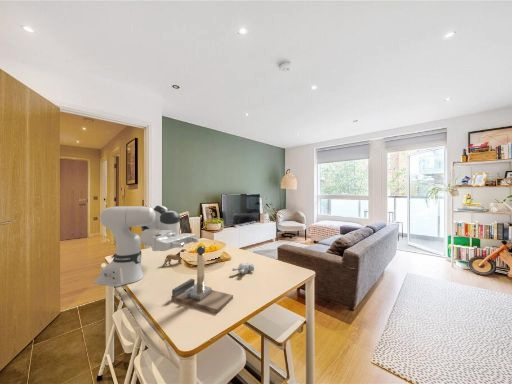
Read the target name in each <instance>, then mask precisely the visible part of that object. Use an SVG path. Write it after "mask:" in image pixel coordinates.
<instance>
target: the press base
mask: <svg viewBox="0 0 512 384" xmlns="http://www.w3.org/2000/svg"><path fill="white" fill-rule="evenodd" d="M194 285H195V279H194V278H191V279H189V280H187V281H185V282H183V283H181V284H180V285H178V286H175V288H173V289H171V290H172V291H171V293H172V295H171V297H170V298H171V300H172V301H174V302H177V303H182V304H184V305H187V306H191V307H195V308H198V309H202V310H205V311H209V312H212V313H214V314H215V313H216V314H218V313H220V312H221V311H222V310H223V309H224V308H225V307H226V306H227V304H230V302H231V301H232V300H233V299H234V295H233V294H230V293H226V292H222V291H217V290H214V289H212V292H211V293H209V294H208V295H207V296H205V297H204V298H203V299H201V300H197V299H193V298H190V297H189V298H185V291H186V290H187V289H189V288H191V287H192V286H194Z"/></svg>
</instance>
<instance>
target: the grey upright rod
mask: <svg viewBox="0 0 512 384" xmlns="http://www.w3.org/2000/svg"><path fill="white" fill-rule="evenodd" d="M196 248H197V250H196V253H197V256H196V258H197V260H196V261H197V262H196V263H197V264H196V266H197V267H196V268H197V269H196V272H197V273H196V275H197V276H196V278H197V279H196V283H194V286H192V287H191V288H189V289H187V290H186V291H185V298H189V297H190V298H193V299H197V300H201V299H203V298H204V297H205V296H207V295H208V294H209V293H211V292H212V290H213V289H212V287H209V286H206V285H205V254H204V252H205V249H206V248H205V247H204V246H202V245H199V246H198V247H196Z"/></svg>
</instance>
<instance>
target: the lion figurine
mask: <svg viewBox="0 0 512 384" xmlns="http://www.w3.org/2000/svg"><path fill="white" fill-rule="evenodd" d="M184 251H186V252H187V249H186V248H182V249H181V250H180V251H179V252H177V253H175V254H173V253H170V254H167V256H166V257H165V260H164V263H163V264H162V266H165V265H166V266H167V265H168V266H171V267H172V266H173V265H172V264H171V262H172V261H177V262H178V264H179V265H182V264H183V263H182V260H183V259H182V258H181V257H180V252H184Z"/></svg>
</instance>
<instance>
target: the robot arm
mask: <svg viewBox="0 0 512 384" xmlns="http://www.w3.org/2000/svg"><path fill="white" fill-rule="evenodd" d="M180 221H181V215H180V214H179V213H178V212H177V211H175V210H169V209H168V208H167V207H166V206H164V205H156V206H155V207H154V208H152V207H148V206H142V205H141V206H140V205H139V206H138V205H135V206H134V205H130V206H129V205H127V206H124V205H122V206H110V207H106V208H104V209H102V211H101V212H100V214H99V222H100V223H101V225H102V226H104V227H105V228H107V229H108V230H109V231H110V232H111V234H112V235H113V237H114V239H115V254H113V255H111V256H110V259H112V260H111V261H110V262H109V263H108V264H107V265H105V266H103V268H102V269H101V270H100V272H99V277H97V278H95V279H94V281H93V285H99V286H100V285H101V286H106V287H115V288H117V287H121V286H124V285H128V284H132V283H135V282H138V281H140V280H142V279H143V278H144V276H145V274H144V272H143V268H142V250H141V249H142V248H141V245H144V246H146V247H150V248H151V250H152V252H166V251H169V250H172V249H175V248H176V249H177V248H180V249H181V248H182V249H183V248H185V245H187V244H191V243H193V244H194V243H199V238H197V237H196V235H197V234H195V233H187V232H186V233H185V232H183V233H180ZM137 227H138V228H139V227H140V228H141V231H142V232H141V234H140V235H139V234H138V233H135V232H133V231H131V230H130V228H137Z"/></svg>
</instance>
